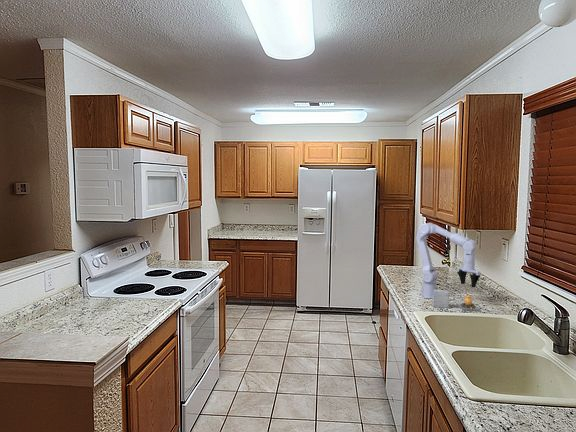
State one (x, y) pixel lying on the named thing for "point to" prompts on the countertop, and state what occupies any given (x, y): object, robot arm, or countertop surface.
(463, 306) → the junction plate
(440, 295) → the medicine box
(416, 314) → the countertop surface
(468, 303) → the wire nut cap
